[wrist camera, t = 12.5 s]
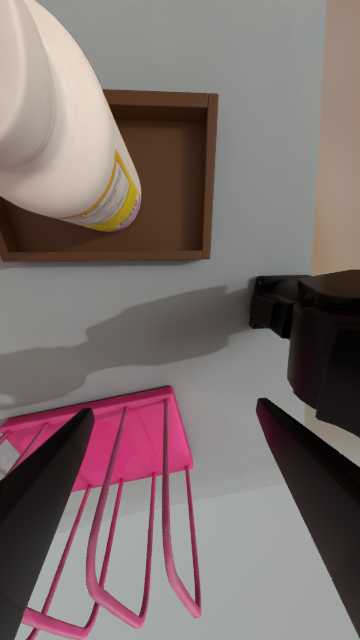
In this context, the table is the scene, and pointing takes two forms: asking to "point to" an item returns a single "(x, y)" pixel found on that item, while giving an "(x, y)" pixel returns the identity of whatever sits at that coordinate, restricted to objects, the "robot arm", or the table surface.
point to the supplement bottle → (58, 127)
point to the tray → (156, 188)
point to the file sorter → (117, 467)
